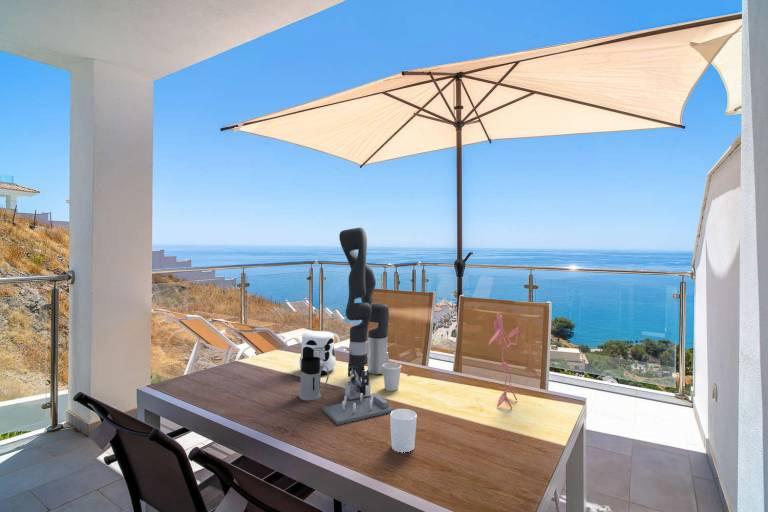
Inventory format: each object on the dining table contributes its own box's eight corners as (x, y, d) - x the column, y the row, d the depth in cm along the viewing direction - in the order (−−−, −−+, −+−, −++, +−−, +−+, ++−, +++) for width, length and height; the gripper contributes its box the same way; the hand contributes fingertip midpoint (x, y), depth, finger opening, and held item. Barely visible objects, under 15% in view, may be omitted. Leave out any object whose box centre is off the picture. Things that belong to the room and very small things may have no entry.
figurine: (524, 394, 158) (523, 309, 158) (509, 417, 135) (508, 318, 136) (487, 388, 165) (486, 307, 166) (467, 409, 143) (466, 315, 144)
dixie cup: (390, 393, 157) (391, 369, 157) (377, 388, 164) (378, 365, 164) (405, 389, 163) (405, 365, 163) (392, 384, 169) (392, 361, 169)
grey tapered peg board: (374, 399, 151) (375, 387, 151) (393, 412, 139) (393, 399, 139) (322, 410, 140) (322, 397, 140) (337, 425, 128) (337, 411, 128)
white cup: (388, 441, 117) (388, 408, 117) (413, 440, 118) (414, 408, 118) (391, 454, 109) (391, 420, 109) (418, 454, 110) (418, 419, 110)
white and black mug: (310, 390, 160) (311, 354, 160) (335, 398, 152) (336, 360, 152) (294, 397, 153) (294, 359, 153) (320, 405, 145) (320, 365, 145)
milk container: (317, 364, 199) (318, 329, 199) (342, 370, 188) (343, 333, 188) (291, 372, 185) (292, 335, 184) (317, 379, 174) (317, 340, 174)
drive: (365, 392, 160) (365, 378, 159) (370, 396, 155) (370, 382, 155) (345, 395, 155) (345, 381, 155) (349, 399, 151) (350, 385, 151)
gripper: (374, 354, 151) (374, 395, 151) (358, 347, 163) (358, 385, 163) (357, 357, 147) (357, 399, 147) (342, 349, 159) (342, 388, 159)
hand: (357, 391), depth 155 cm, fingers open, 8 cm apart
